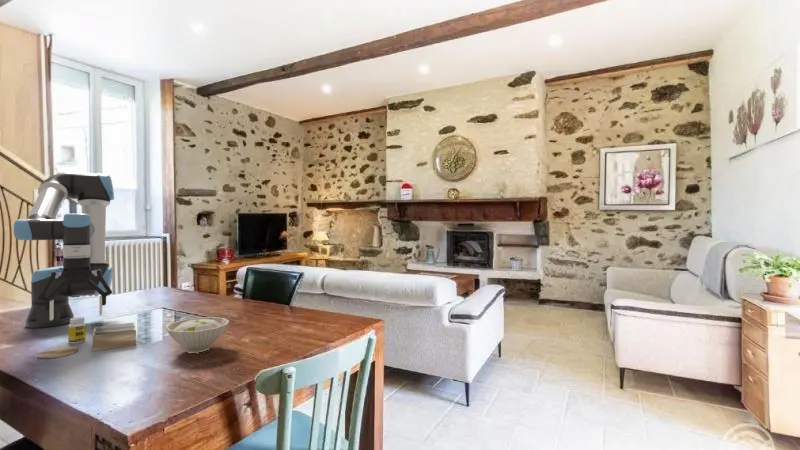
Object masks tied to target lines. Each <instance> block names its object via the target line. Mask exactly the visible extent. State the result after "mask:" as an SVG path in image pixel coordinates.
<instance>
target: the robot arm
mask: <svg viewBox="0 0 800 450" xmlns="http://www.w3.org/2000/svg"><path fill="white" fill-rule="evenodd" d="M37 194H38V196H37V198H36V200H35V202H34V204H33V206H32V208H31V210H30V212H29V214H28V216H27V218H19V219H16V220H15V221H14V224H13V235H14V237H15V239H17V240H18V241H51V240H52V241H57V240H58V241H59V240H60V241H61V240H62V241H63V243H62V244H63V246H62V248H63V249H62V250H63V251H62V252H63V253H62V256H63V257H64V258H63V260H62V265H59V266H50V267H45V268H41V269H37V270H34V271H32V273H31V281H30V285H31V286H30V287H31V288H30V289H31V296H30V297H31V300H30V301H31V305H30V306H31V307H30V310H29V312H28V314H27V317H26V318H25V327H26V328H31V329H38V328H40V329H42V328H52V327H56V326H62V325H66V324H71V323H70V319H71V318H75V315H74V313H73V309H72V308H71V305H70V303H69V302H70V301H69V300H70V298H71V297H84V296H97V295H100V296H99V299H98V300H99V310H98V311H99V314H98V315H99V316H102V315H103V306H106V305H107V296H109V295H112V294H113V291H112V290H113V289H111V285H112V280H113V273H114V269H113V268H114V267H111V266H110V263H109V261H107V260H106V226H107V225H106V222H107V221H106V219H107V217H106V215H107V207H108V206H109V205H111V201H114V200H115V192H114V187H113V180H112V177H111V175H109V174H105V173H99V172H97V173H96V172H95V173H91V172H72V171H64V172H60V173H56V174H54V175H52V176H49V177H48V178H46V179H45V180H43V181H42V182H41V183H40V185H39V186H38V189H37ZM66 199H72V200H77V204H79V206H80V207H81V213H65V214H64V215H63V219H56V218H57V215H58V212H59V209H60V207H61V205H62V202H64V201H65V200H66ZM69 297H70V298H69Z"/></svg>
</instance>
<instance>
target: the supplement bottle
mask: <svg viewBox="0 0 800 450" xmlns="http://www.w3.org/2000/svg"><path fill="white" fill-rule="evenodd" d="M86 326H87V325H86V322H85V317H83V316H77V317H74V318H71V319H70V323H69V325H68V340H67V341H68V344H71V345H72V344H75V345H76V344H80V343H83V342H86V331H87V329H86Z"/></svg>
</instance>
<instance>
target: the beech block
mask: <svg viewBox="0 0 800 450" xmlns="http://www.w3.org/2000/svg"><path fill="white" fill-rule="evenodd" d="M136 345H137V329H136V323H135V322H126V323H119V324H110V325H109V324H108V325H101V326H95V327H94V328H93V333H92V352H94V351H102V350H107V349H115V348H123V347H129V346H130V347H131V346H136Z"/></svg>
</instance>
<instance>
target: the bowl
mask: <svg viewBox="0 0 800 450" xmlns="http://www.w3.org/2000/svg"><path fill="white" fill-rule="evenodd" d="M229 322H230V320H229V319H227V318H225V317H219V316H218V317H217V316H204V317H203V316H202V317H192V318H186V319H180V320H177V321H174V322H170V323H169V324H168V325H166V326H165V329H166V331H167V333H168V334H169V336H170V338H172V340H174V341H175V342H176V343H177V344H178V345H179V346H181V348H184V349H187V350H186V351H188V352H200V351H204V350H206V349H208V348H210V346H211V345H213V344H214V343H216V342H217V340H218V339H219V338H220V337H221V335H222V334H223V333H224V332H225V331H226V328H227V327H228V325H229Z"/></svg>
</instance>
